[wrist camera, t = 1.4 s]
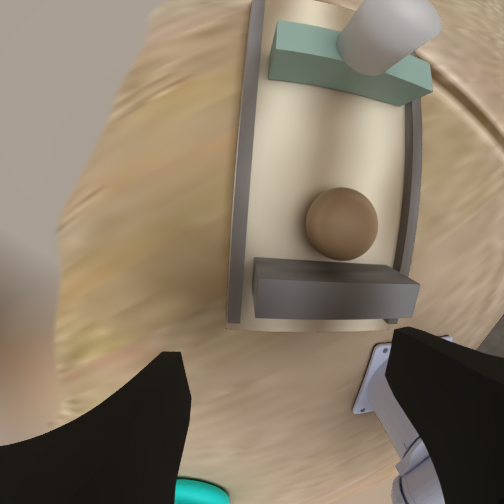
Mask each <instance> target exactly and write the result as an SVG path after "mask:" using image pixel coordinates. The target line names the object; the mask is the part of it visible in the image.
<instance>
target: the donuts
mask: <svg viewBox="0 0 504 504" xmlns="http://www.w3.org/2000/svg"><path fill="white" fill-rule="evenodd" d="M174 504H230V499H229V497H228V495H227V494H226V493H225V492H224V491H223V490H221V489H220V488H218V487H216V486H213V485H211V484H208V483H204V482H200V481H195V480H188V479H177V481H176V489H175V502H174Z"/></svg>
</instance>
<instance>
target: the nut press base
mask: <svg viewBox="0 0 504 504" xmlns="http://www.w3.org/2000/svg"><path fill="white" fill-rule="evenodd" d="M355 12H356V11H354V10H351V9H347V8H343V7H340V6H336V5H332V4H327V3H323V2H318V1H313V0H252V3H251V11H250V19H249V28H248V37H247V46H246V55H245V64H244V74H243V84H242V95H241V105H240V116H239V128H238V139H237V152H236V164H235V177H234V191H233V205H232V220H231V236H230V253H229V270H228V290H227V311H226V329H229V330H247V331H272V332H351V331H376V330H388V329H389V325H390V324H397V321H398V318H410V317H412V315H413V311H414V308H415V304H416V300H417V296H418V292H419V287H420V284H419V283H417V282H415V281H414V280H412V279H410V278H408V275H409V270H410V265H411V260H412V254H413V248H414V242H415V235H416V228H417V220H418V211H419V201H420V189H421V172H422V113H421V97H420V98H417V99H415V100H413V101H411V102H409V103H406V104H404V105H402V106H400V107H399V106H396V105H393V104H389V103H386V102H383V101H379V100H376V99H372V98H369V97H365V96H361V95H357V94H353V93H349V92H345V91H340V90H336V89H331V88H326V87H321V86H315V85H309V84H303V83H297V82H290V81H282V80H274V79H268V73H269V60H270V51H271V46H272V42H273V38H274V33H275V29H276V25H277V21H278V20H282V21H290V22H296V23H302V24H308V25H313V26H318V27H323V28H328V29H332V30H336V31H340V32H342V31H343V29H344V28H345V26H346V25H347V23H348V22H349V21H350V19H351V18H352V16H353V15H354V14H355ZM409 55H412V56H414V57H416V54H415V51H413V52H412V53H410V54H409ZM338 187H345V188H351V189H354V190H356V191H358V192H360V193H362V194H363V195H364V196H366V197H367V198H368V199H369V201H370V202H371V203H372V205H373V207H374V208H375V211H376V214H377V218H378V232H377V236H376V239H375V241H374V243H373V244H372V246H371V247H370V249H369V250H368V251H367V252H366V253H364V254H363V255H362V256H360V257H358V258H356V259H353V260H348V261H337V260H333V259H330V258H328V257H326V256H324V255H322V254H321V253H320V252H319V251H318V250H317V249H316V248H315V247H314V246H313V244H312V243H311V241H310V239H309V236H308V233H307V228H306V219H307V214H308V210H309V208H310V206H311V204H312V203H313V201H314V200H315V199H316V198H317V197H318V196H319V195H320V194H322V193H323V192H325V191H327V190H329V189H333V188H338Z"/></svg>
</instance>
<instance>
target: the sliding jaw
mask: <svg viewBox="0 0 504 504" xmlns="http://www.w3.org/2000/svg"><path fill="white" fill-rule="evenodd" d="M441 30H442V24H441V20H440V17H439V15H438V13H437V11H436V10H435V8H434V7H433V6H432V5H431V3H430V2H429V1H428V0H364V1H363V3H362V4H361V5H360V7H359V8H358V9H357V11H356V12H355V14H354V15H353V16H352V18H351V19H350V21H349V22H348V23H347V25H346V26H345V28H344V29H343V31H342V32H340V31H336V30H332V29H328V28H323V27H318V26H313V25H308V24H302V23H296V22H290V21H282V20H278V21H277V25H276V29H275V33H274V38H273V42H272V46H271V51H270V60H269V73H268V79H274V80H282V81H290V82H297V83H303V84H309V85H315V86H321V87H326V88H331V89H336V90H340V91H345V92H349V93H353V94H357V95H361V96H365V97H369V98H372V99H376V100H379V101H383V102H386V103H389V104H393V105H396V106H399V107H400V106H402V105H404V104H406V103H409V102H411V101H413V100H415V99H417V98H420V97H422V96H424V95H427V94H429V93H431V92H433V87H432V78H431V71H430V64H429V63H427V62H425V61H423V60H421V59H418V58H416V57H414V56H412V55H409V54H410V53H412V52H413V51H415V50H416V49H418V48H419V47H420V46H422V45H423V44H425V43H426V42H428V41H429V40H431V39H432V38H434V37H435V36H437V35H438V34H440V32H441Z"/></svg>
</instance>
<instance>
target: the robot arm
mask: <svg viewBox="0 0 504 504" xmlns="http://www.w3.org/2000/svg"><path fill="white" fill-rule="evenodd" d="M452 340H453V338H452V337H451V336H445V337H438V336H435V335H432V334H430V333H427V332H424V331H421V330H419V329H415V328H412V327H404V328H399V329H394V334H393V339H392V343H386V344H378V345H377V346H376V347H375V348H374V350H373V353H372V357H371V360H370V363H369V366H368V369H367V372H366V375H365V378H364V380H363V383H362V386H361V389H360V391H359V394H358V397H357V399H356V402H355V404H354V407H353V410H352V411H353V413H354V414H361V413H367V412H373V411H375V413H376V415H377V417H378V419H379V420H380V422H381V424H382V426H383V428H384V429H385V431H386V433H387V435H388V437H389V438H390V440H391V442H392V444H393V446H394V448H395V449H396V451H397V453H398V455H399V457H400V459H401V461H400V462H399V463H398V464H396V468H397V470H398V472H399V474H400V475H398V476H397V477H396V478H395V479H394V481H393V487H392V491H391V497H392V502H393V504H504V358H502V357H498V356H493V355H489V354H486V353H482V352H479V351H476V350H473V349H470V348H467V347H464V346H461V345H458V344H456V343H453V342H452ZM385 348H386V349H385ZM384 349H385V350H384ZM383 350H384V351H383ZM190 410H191V394H190V390H189V386H188V382H187V378H186V373H185V369H184V365H183V360H182V356H181V352H162V353H160V354H159V355H158V356H157V357H156V358H155V359H154V360H152V361H151V362H150V363H149V364H148V365H147V366H146V367H145V368H144V369H142V370H141V371H140V372H139V373H138V374H137V375H136V376H135V377H133V378H132V379H131V380H130V381H129V382H128V383H126V384H125V385H124V386H123V387H122V388H120V389H119V390H118V391H116V392H115V393H114V394H113V395H111V396H110V397H109V398H107V399H106V400H105V401H103V402H102V403H101V404H99V405H98V406H96V407H95V408H93V409H92V410H90V411H89V412H87V413H85V414H84V415H82V416H80V417H79V418H77V419H75V420H73V421H71V422H69V423H67V424H65V425H63V426H61V427H59V428H57V429H54V430H52V431H50V432H48V433H45V434H43V435H40V436H37V437H34V438H32V439H28V440H25V441H21V442H18V443H14V444H10V445H4V446H0V504H174V502H175V489H176V481H177V475H178V471H179V466H180V462H181V457H182V453H183V449H184V444H185V440H186V435H187V431H188V426H189V420H190Z"/></svg>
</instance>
